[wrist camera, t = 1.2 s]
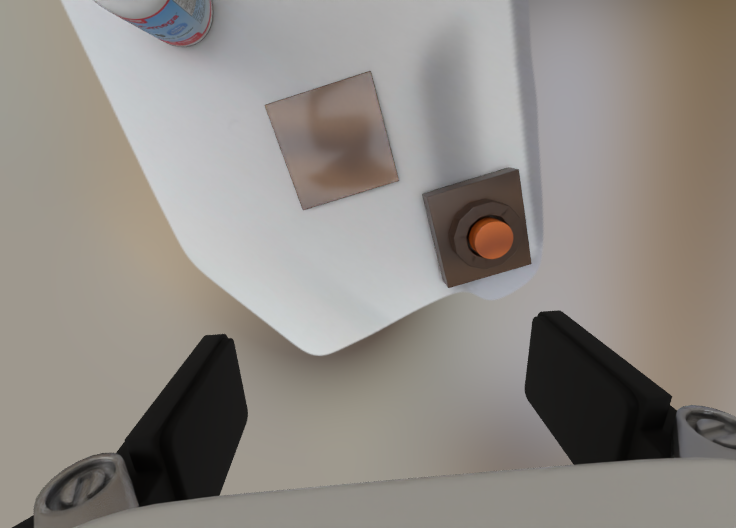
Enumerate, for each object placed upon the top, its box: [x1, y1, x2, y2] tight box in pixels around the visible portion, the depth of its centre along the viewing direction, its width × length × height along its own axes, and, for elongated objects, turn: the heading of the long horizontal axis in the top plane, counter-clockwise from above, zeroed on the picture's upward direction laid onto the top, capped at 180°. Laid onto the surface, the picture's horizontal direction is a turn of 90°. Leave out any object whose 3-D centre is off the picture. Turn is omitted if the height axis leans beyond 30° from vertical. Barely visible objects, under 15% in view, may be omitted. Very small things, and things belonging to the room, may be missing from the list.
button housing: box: [423, 168, 531, 288], centre depth 35 cm, size 10×9×4 cm
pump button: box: [469, 217, 513, 259], centre depth 32 cm, size 4×4×2 cm
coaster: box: [265, 71, 399, 210], centre depth 33 cm, size 10×10×1 cm
